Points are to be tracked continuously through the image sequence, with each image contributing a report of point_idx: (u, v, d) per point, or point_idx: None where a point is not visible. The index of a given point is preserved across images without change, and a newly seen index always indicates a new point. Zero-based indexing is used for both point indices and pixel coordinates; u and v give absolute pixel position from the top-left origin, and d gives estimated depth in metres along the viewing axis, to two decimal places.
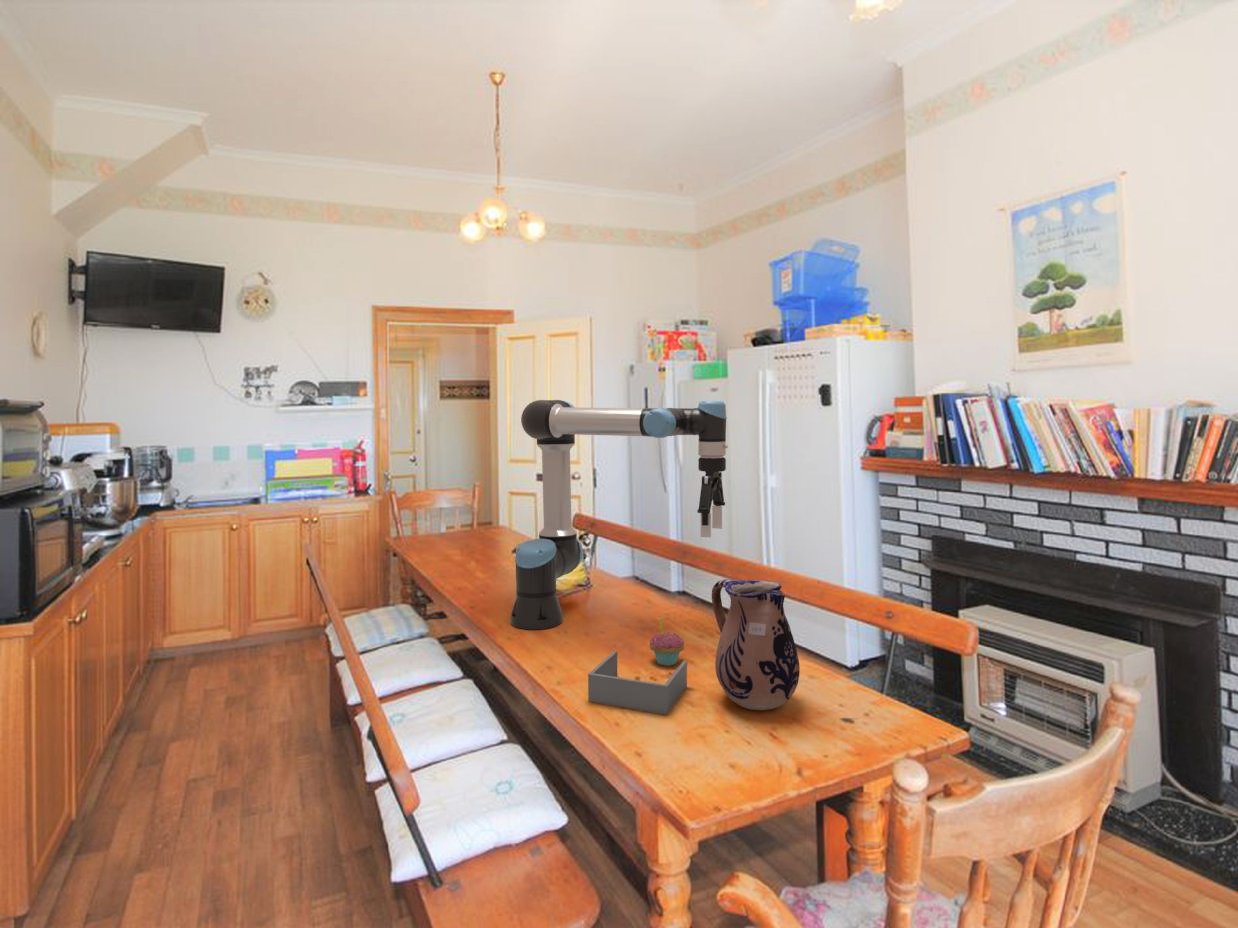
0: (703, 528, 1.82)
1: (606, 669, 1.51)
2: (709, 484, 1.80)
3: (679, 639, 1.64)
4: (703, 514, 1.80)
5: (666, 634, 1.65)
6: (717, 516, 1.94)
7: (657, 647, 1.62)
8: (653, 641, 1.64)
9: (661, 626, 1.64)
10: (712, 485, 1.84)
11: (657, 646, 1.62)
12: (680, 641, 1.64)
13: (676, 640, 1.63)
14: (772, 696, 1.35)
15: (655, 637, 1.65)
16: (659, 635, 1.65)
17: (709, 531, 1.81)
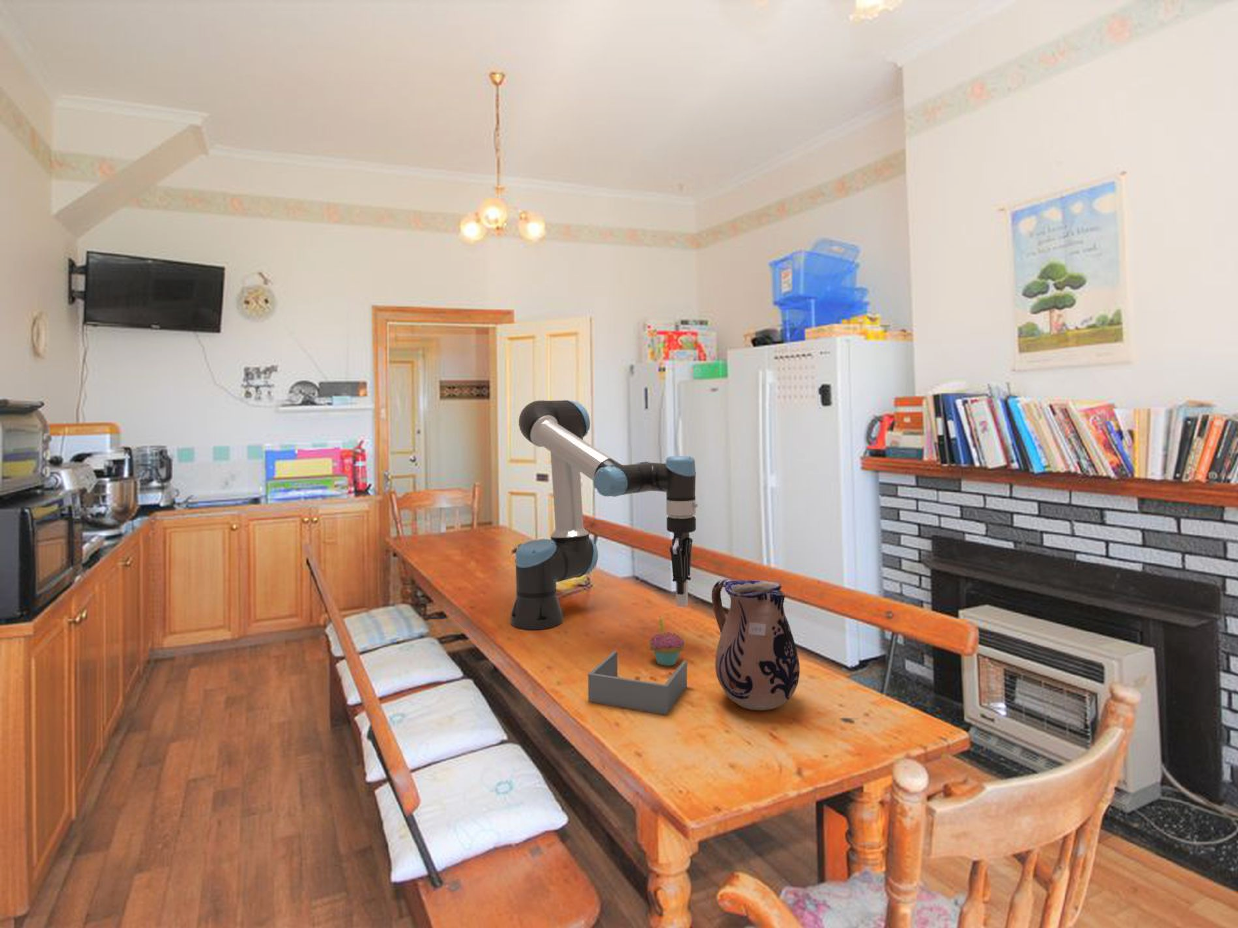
0: (678, 597, 1.75)
1: (606, 669, 1.51)
2: (679, 555, 1.70)
3: (679, 639, 1.64)
4: (678, 583, 1.74)
5: (666, 634, 1.65)
6: None
7: (657, 647, 1.62)
8: (653, 641, 1.64)
9: (661, 626, 1.64)
10: None
11: (657, 646, 1.62)
12: (680, 641, 1.64)
13: (676, 640, 1.63)
14: (772, 696, 1.35)
15: (655, 637, 1.65)
16: (659, 635, 1.65)
17: (685, 601, 1.75)
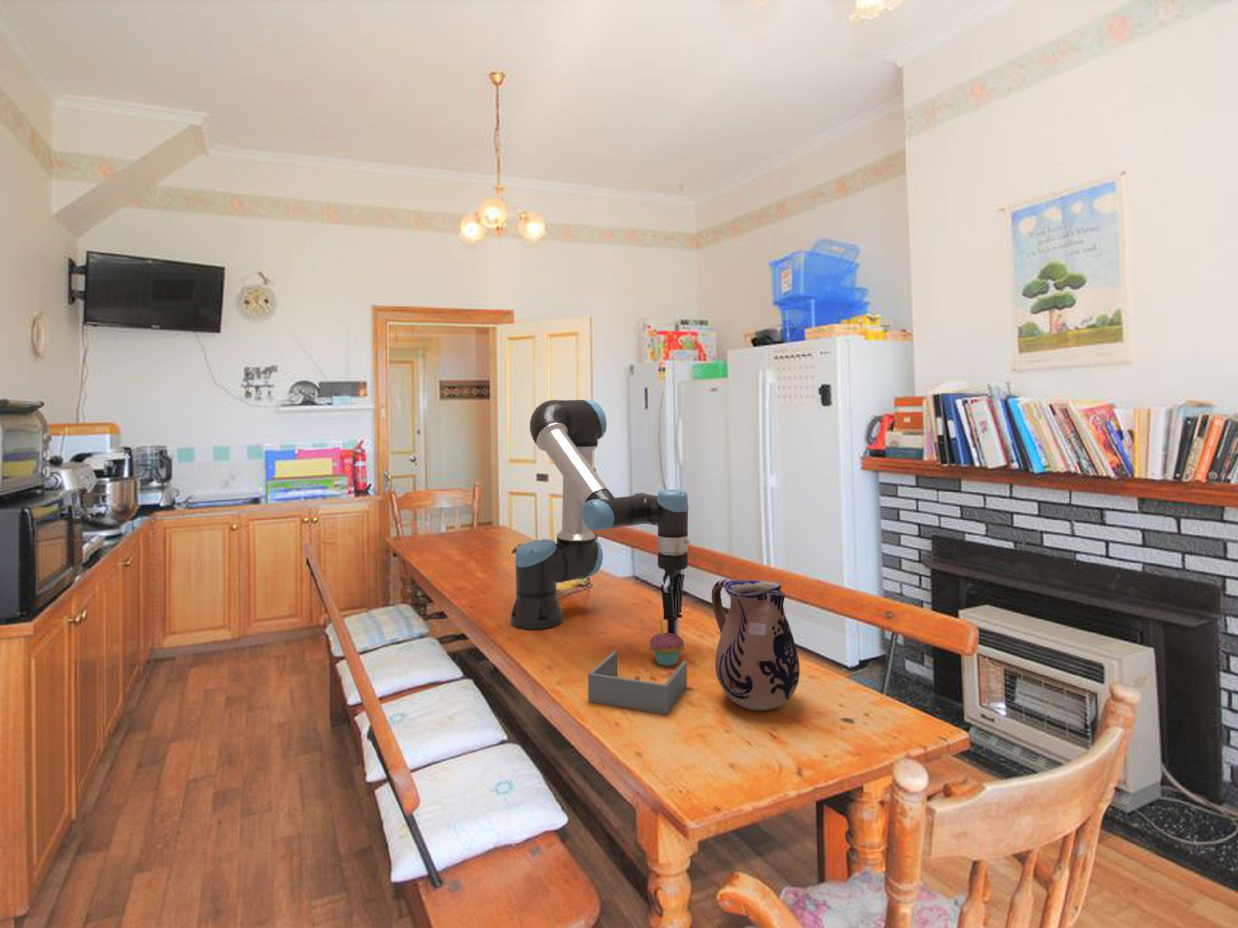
0: None
1: (606, 669, 1.51)
2: (670, 593, 1.64)
3: (679, 639, 1.64)
4: (669, 621, 1.68)
5: (666, 634, 1.65)
6: None
7: (657, 647, 1.62)
8: (653, 641, 1.64)
9: (661, 626, 1.64)
10: None
11: (657, 646, 1.62)
12: (680, 641, 1.64)
13: (676, 640, 1.63)
14: (772, 696, 1.35)
15: (655, 637, 1.65)
16: (659, 635, 1.65)
17: None
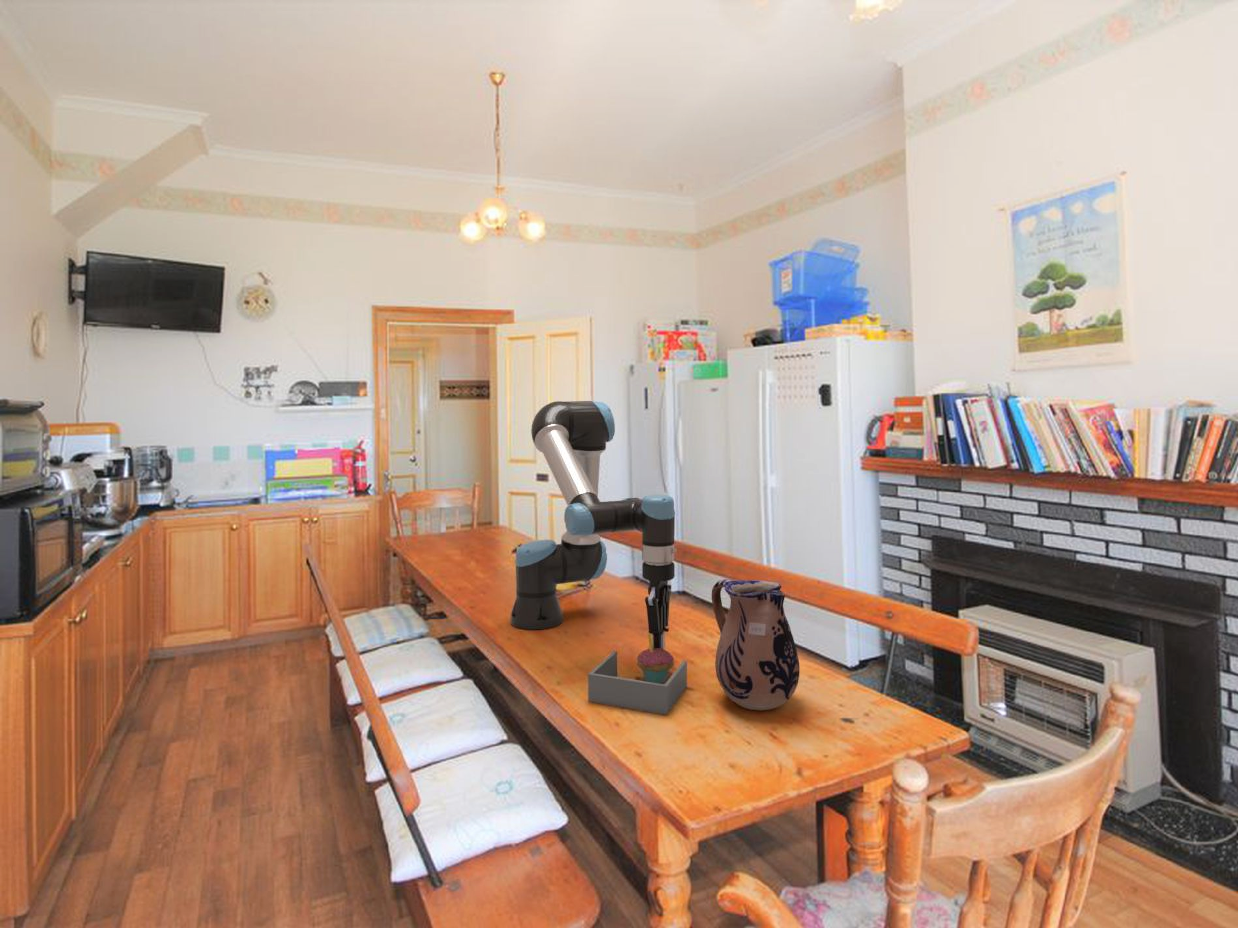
0: None
1: (606, 669, 1.51)
2: (655, 606, 1.53)
3: (669, 654, 1.54)
4: (655, 635, 1.57)
5: (655, 650, 1.55)
6: None
7: (648, 665, 1.51)
8: (642, 659, 1.53)
9: (650, 642, 1.53)
10: None
11: (648, 663, 1.51)
12: (670, 656, 1.54)
13: (667, 656, 1.53)
14: (772, 696, 1.35)
15: (644, 654, 1.53)
16: (647, 652, 1.54)
17: None
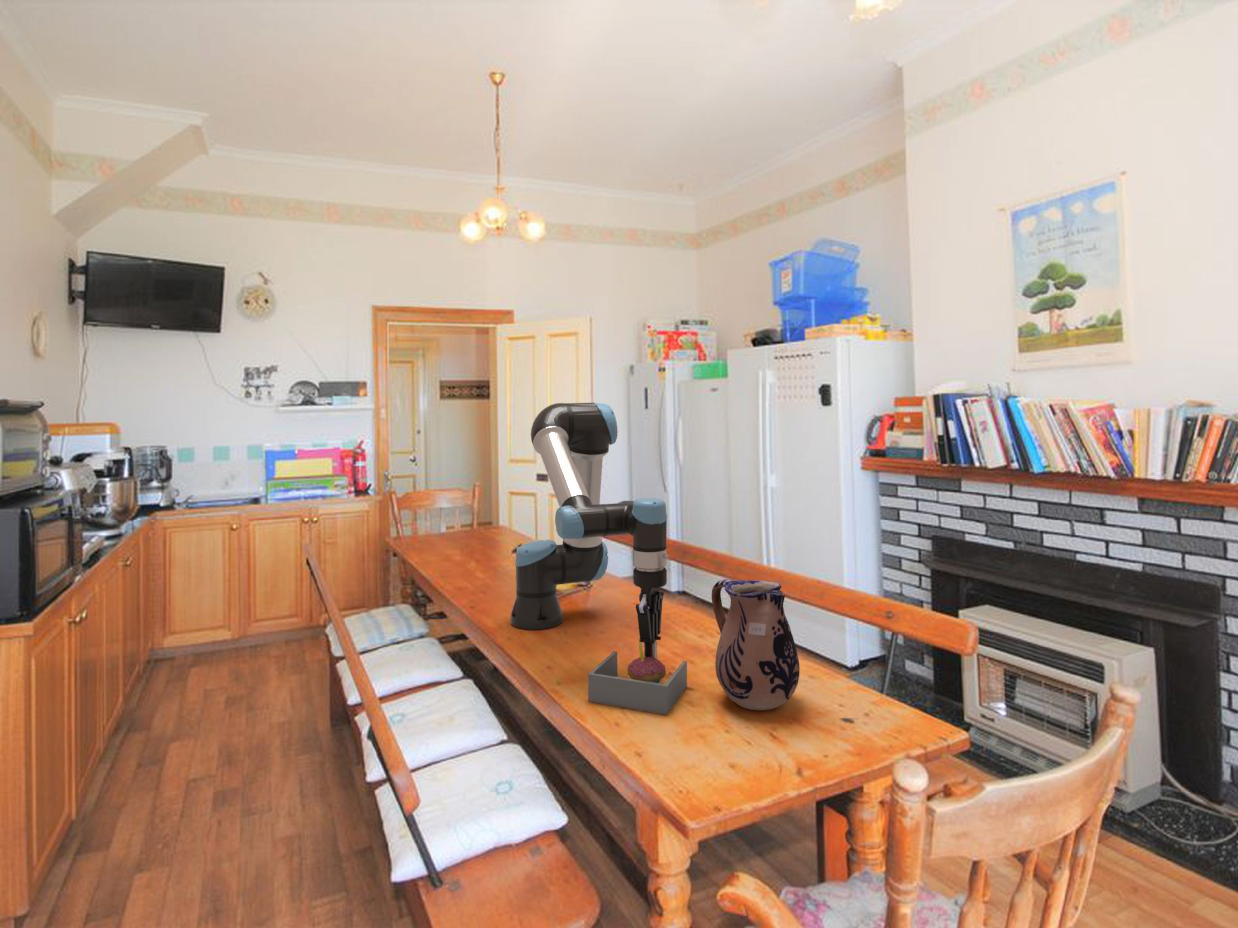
0: None
1: (606, 669, 1.51)
2: (646, 614, 1.47)
3: (660, 664, 1.49)
4: (646, 644, 1.52)
5: (646, 659, 1.49)
6: None
7: (638, 675, 1.46)
8: (633, 668, 1.47)
9: (641, 651, 1.48)
10: None
11: (638, 673, 1.46)
12: (662, 666, 1.48)
13: (658, 665, 1.48)
14: (772, 696, 1.35)
15: (634, 663, 1.48)
16: (638, 661, 1.49)
17: None
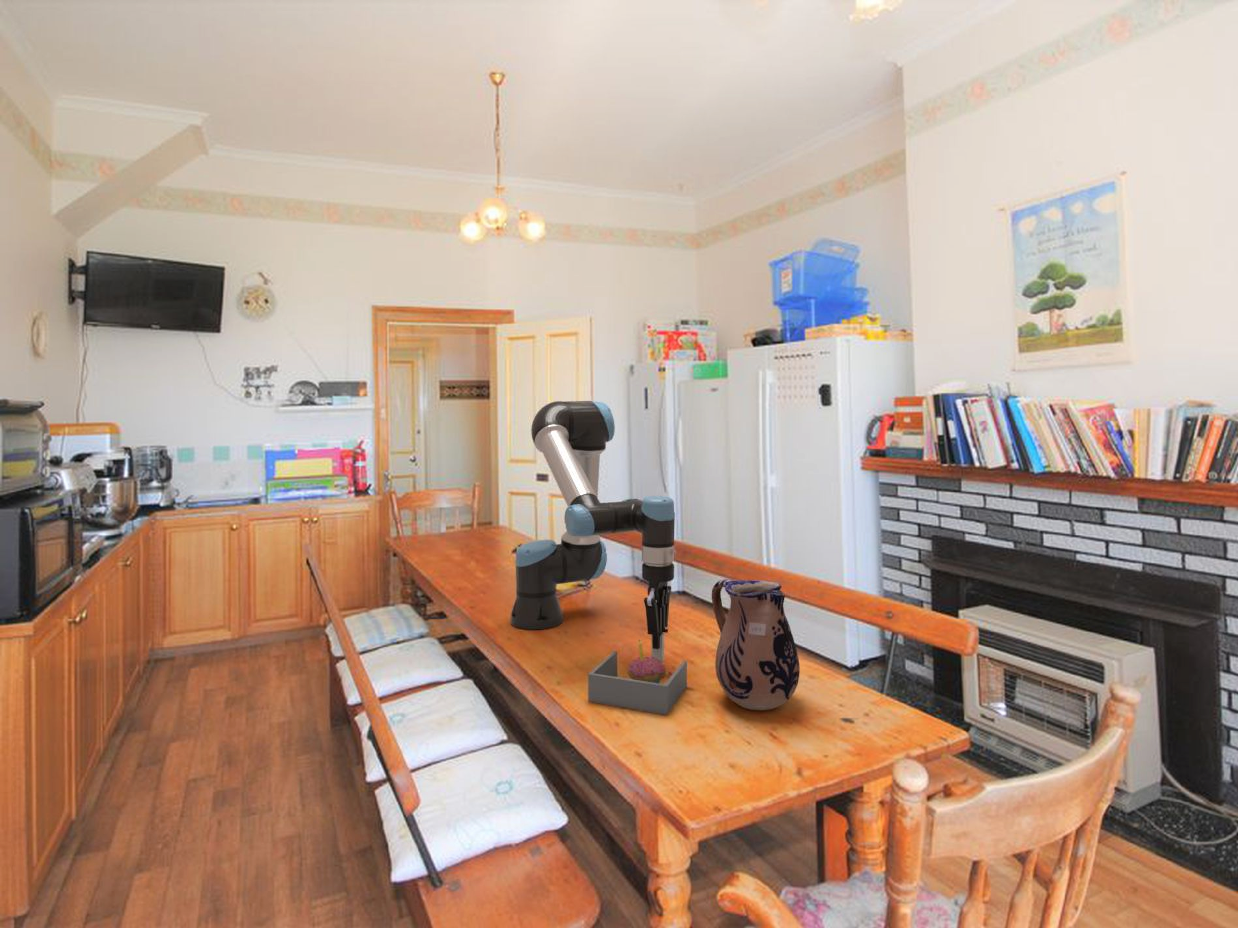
0: (654, 651, 1.59)
1: (606, 669, 1.51)
2: (654, 607, 1.53)
3: (660, 664, 1.49)
4: (654, 636, 1.58)
5: (646, 659, 1.49)
6: None
7: (638, 675, 1.46)
8: (633, 668, 1.47)
9: (641, 651, 1.48)
10: None
11: (638, 673, 1.46)
12: (662, 666, 1.48)
13: (658, 665, 1.48)
14: (772, 696, 1.35)
15: (634, 664, 1.48)
16: (638, 661, 1.49)
17: (661, 655, 1.59)
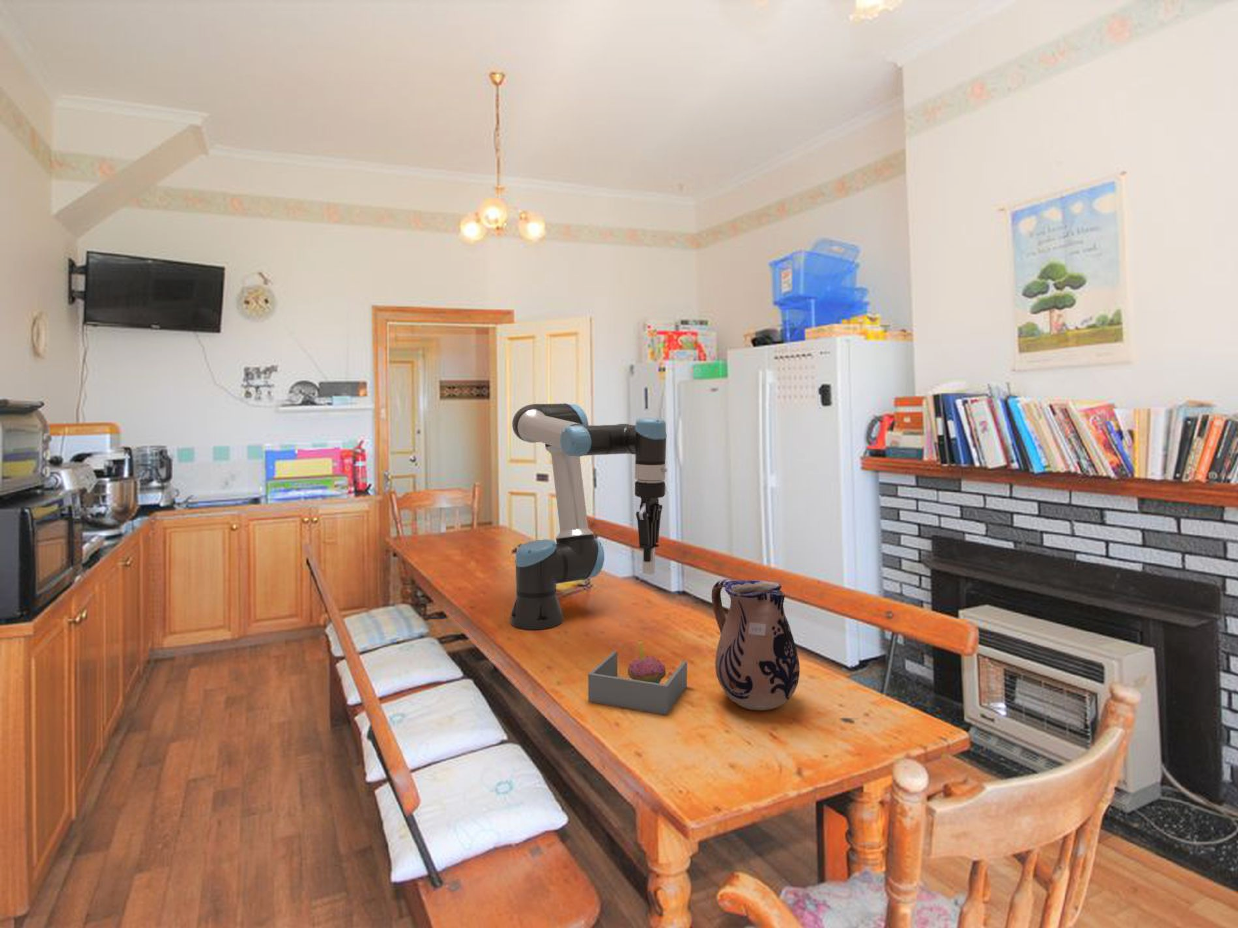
0: (645, 564, 1.69)
1: (606, 669, 1.51)
2: (645, 520, 1.63)
3: (660, 664, 1.49)
4: (645, 550, 1.68)
5: (646, 659, 1.49)
6: None
7: (638, 675, 1.46)
8: (633, 668, 1.47)
9: (641, 651, 1.48)
10: None
11: (638, 673, 1.46)
12: (662, 666, 1.48)
13: (658, 666, 1.48)
14: (772, 696, 1.35)
15: (634, 663, 1.48)
16: (638, 661, 1.49)
17: (651, 568, 1.69)
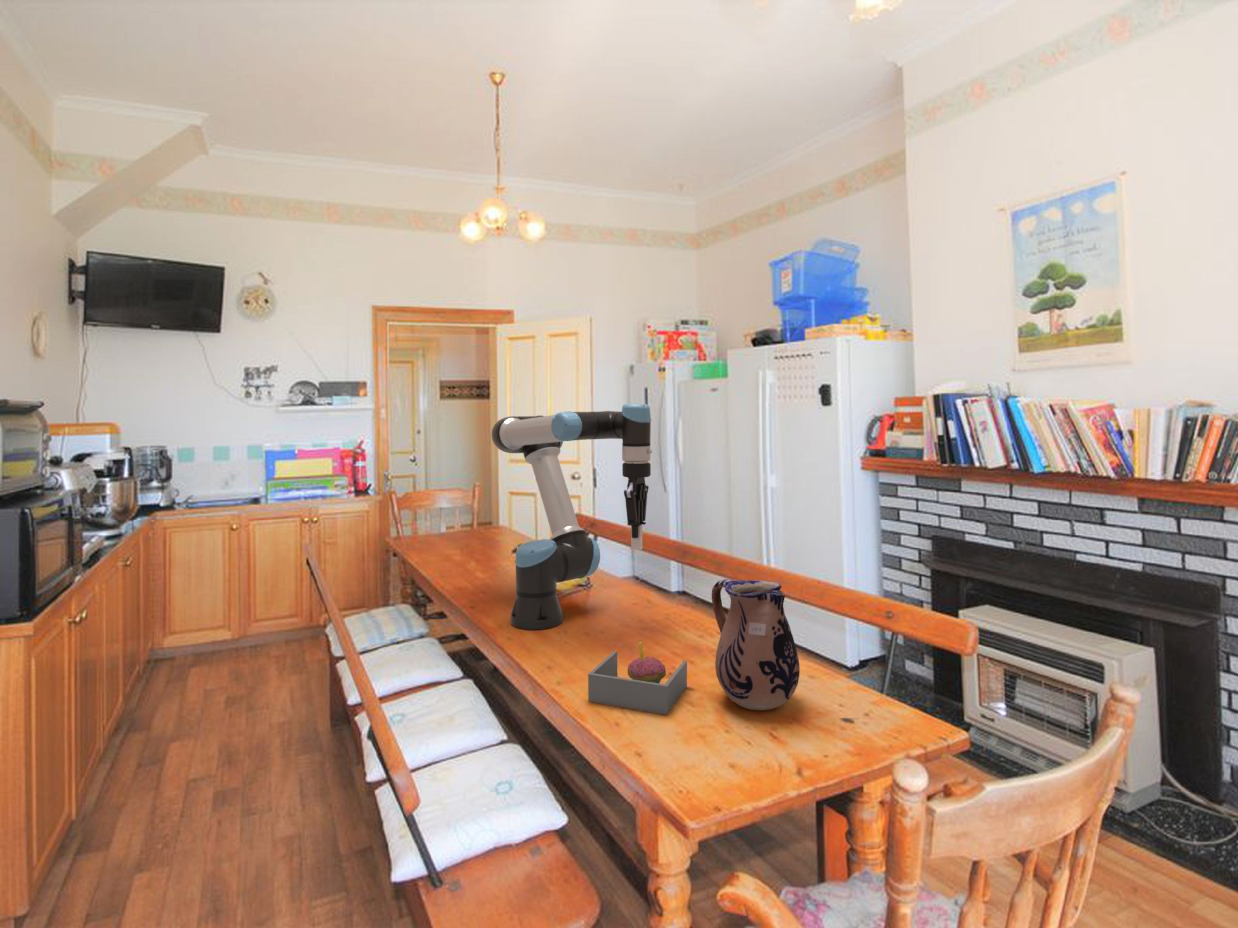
0: (633, 541, 1.81)
1: (606, 669, 1.51)
2: (633, 498, 1.75)
3: (660, 664, 1.49)
4: (633, 527, 1.79)
5: (646, 659, 1.49)
6: None
7: (638, 675, 1.46)
8: (633, 668, 1.47)
9: (641, 651, 1.48)
10: None
11: (638, 673, 1.46)
12: (662, 666, 1.48)
13: (658, 666, 1.48)
14: (772, 696, 1.35)
15: (634, 663, 1.48)
16: (638, 661, 1.49)
17: (639, 544, 1.80)
